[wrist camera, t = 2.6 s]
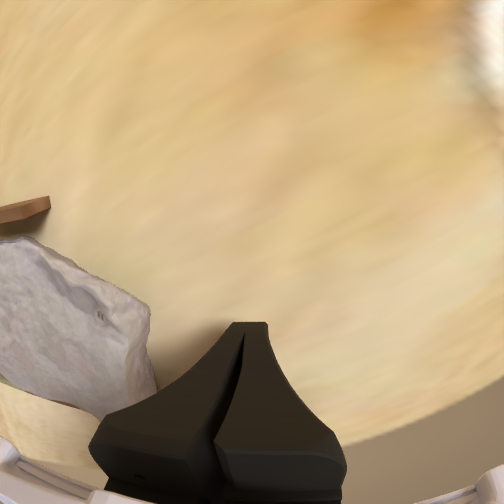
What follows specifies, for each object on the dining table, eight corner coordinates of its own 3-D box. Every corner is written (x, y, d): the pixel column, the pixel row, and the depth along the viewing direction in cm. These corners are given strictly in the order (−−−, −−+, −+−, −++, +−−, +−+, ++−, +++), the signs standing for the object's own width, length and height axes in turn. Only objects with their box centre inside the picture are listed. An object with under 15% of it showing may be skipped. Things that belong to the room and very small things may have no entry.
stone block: (14, 221, 16) (21, 352, 18) (-36, 229, 11) (-17, 380, 13) (173, 253, 16) (161, 403, 18) (141, 274, 11) (139, 452, 13)
